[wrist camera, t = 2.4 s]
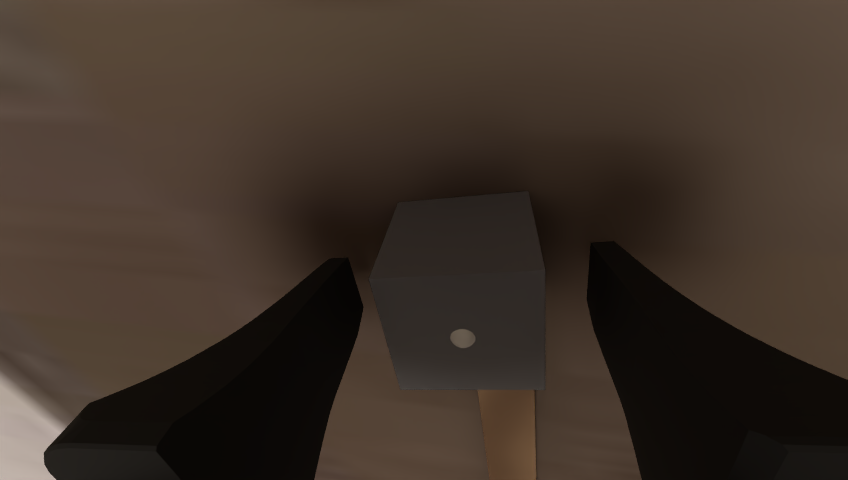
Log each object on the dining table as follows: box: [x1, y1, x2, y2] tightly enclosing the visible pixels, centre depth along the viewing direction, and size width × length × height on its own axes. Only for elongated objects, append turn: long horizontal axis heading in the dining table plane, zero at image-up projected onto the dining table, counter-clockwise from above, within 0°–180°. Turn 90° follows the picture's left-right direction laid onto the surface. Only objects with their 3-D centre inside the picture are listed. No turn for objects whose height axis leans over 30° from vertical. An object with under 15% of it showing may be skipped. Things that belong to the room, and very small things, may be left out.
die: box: [369, 191, 545, 390], centre depth 12 cm, size 4×4×4 cm
